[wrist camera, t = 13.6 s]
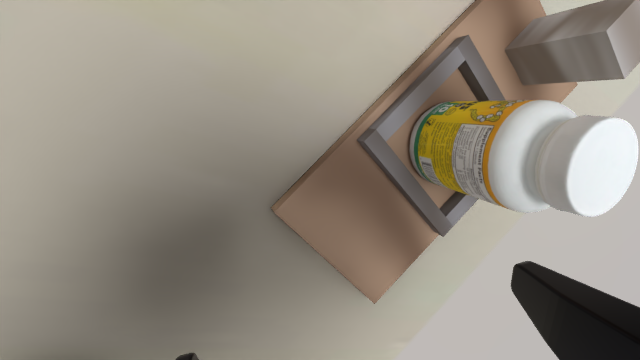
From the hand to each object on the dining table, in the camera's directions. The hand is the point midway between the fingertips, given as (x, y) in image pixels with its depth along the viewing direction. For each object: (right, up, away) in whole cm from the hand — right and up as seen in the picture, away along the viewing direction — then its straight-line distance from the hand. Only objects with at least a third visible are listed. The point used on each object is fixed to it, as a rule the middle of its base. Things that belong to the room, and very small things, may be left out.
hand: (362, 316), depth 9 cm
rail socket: (+7, +7, +14) cm, 17 cm away
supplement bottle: (+7, +6, +13) cm, 16 cm away
